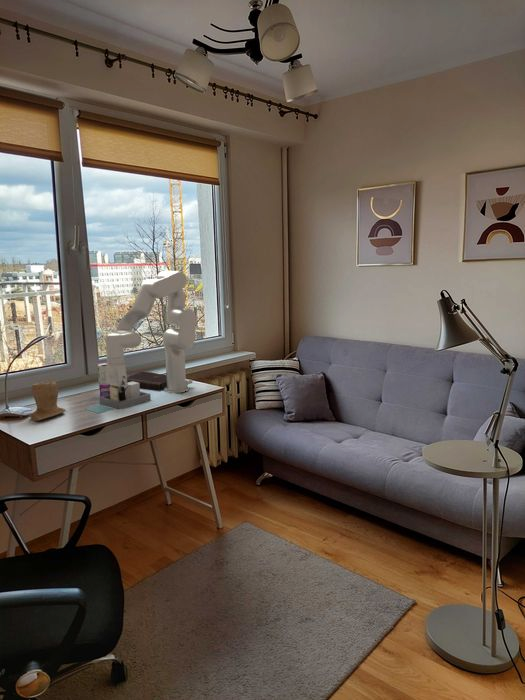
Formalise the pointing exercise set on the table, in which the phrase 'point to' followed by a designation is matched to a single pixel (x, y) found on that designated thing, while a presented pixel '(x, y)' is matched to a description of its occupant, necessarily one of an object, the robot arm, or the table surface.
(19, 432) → the table surface
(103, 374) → the candy bar box
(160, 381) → the diary
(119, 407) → the parts bin
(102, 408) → the mat
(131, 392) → the grey block
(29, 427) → the table surface
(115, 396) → the labelled block
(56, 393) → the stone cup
